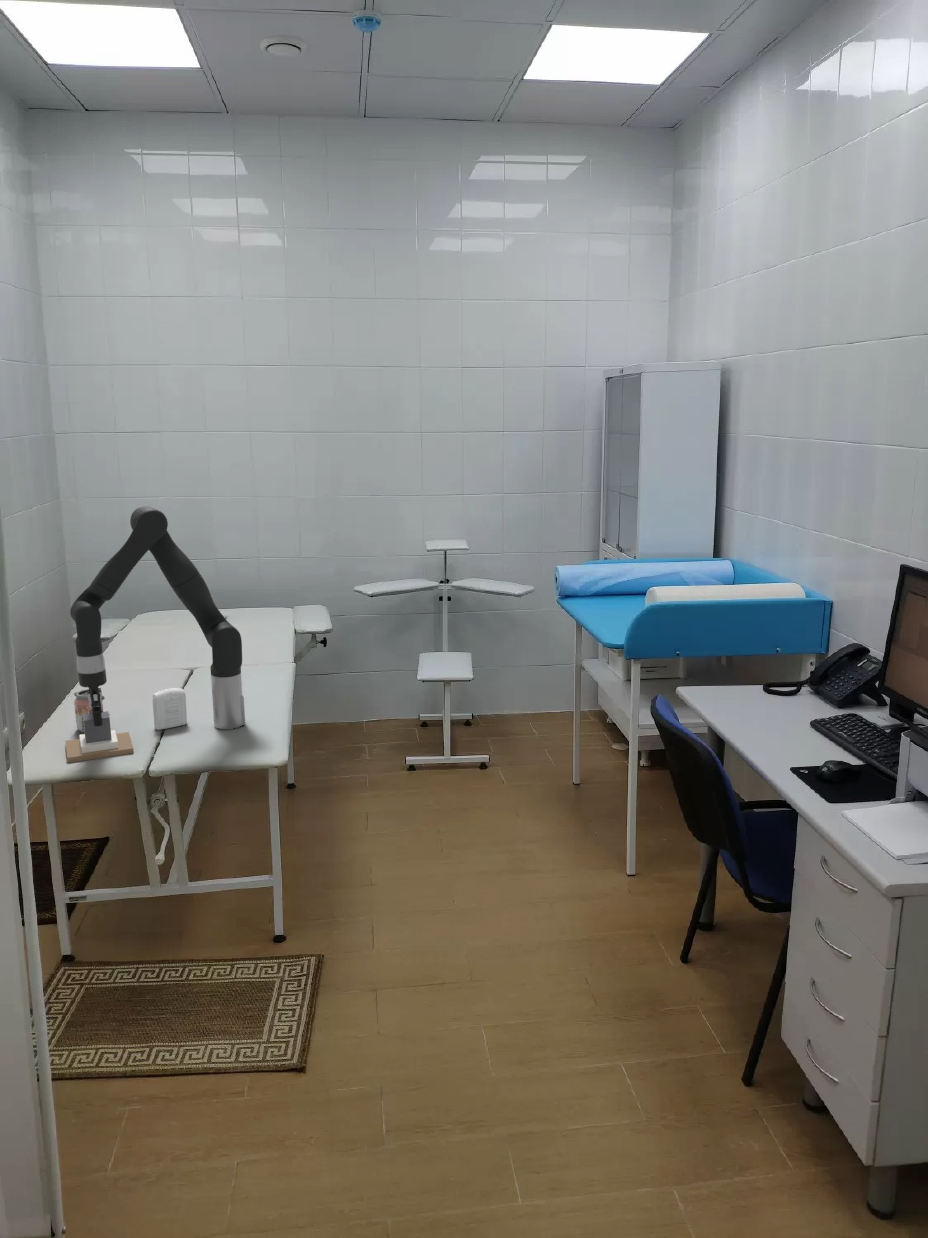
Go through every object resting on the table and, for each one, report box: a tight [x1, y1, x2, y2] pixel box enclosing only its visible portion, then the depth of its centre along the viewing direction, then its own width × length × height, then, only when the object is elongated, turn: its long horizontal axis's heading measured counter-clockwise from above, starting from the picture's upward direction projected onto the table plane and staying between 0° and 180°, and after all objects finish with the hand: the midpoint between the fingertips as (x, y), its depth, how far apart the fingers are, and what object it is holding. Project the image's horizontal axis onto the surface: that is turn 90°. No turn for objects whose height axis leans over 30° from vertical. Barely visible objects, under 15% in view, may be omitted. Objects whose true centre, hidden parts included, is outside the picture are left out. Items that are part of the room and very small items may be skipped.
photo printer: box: [152, 687, 188, 731], centre depth 297 cm, size 10×4×12 cm, turn 125°
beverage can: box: [73, 688, 105, 734], centre depth 295 cm, size 9×8×12 cm
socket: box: [65, 729, 134, 764], centre depth 280 cm, size 18×14×4 cm
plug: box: [83, 711, 112, 743], centre depth 279 cm, size 7×6×8 cm
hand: (97, 720), depth 278 cm, fingers open, 8 cm apart
